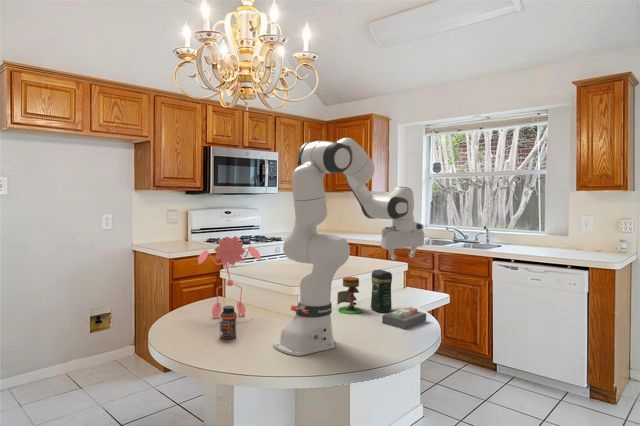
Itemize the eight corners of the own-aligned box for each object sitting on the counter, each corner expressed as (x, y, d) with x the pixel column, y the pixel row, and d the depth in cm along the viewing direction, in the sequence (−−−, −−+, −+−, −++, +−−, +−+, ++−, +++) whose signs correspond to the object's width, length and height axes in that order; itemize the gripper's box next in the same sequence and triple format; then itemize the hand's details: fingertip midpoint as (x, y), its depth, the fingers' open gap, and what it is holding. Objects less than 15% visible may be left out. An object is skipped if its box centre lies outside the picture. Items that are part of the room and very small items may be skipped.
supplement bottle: (220, 340, 154) (220, 309, 154) (219, 335, 160) (219, 305, 159) (237, 339, 156) (237, 308, 155) (235, 333, 162) (236, 304, 161)
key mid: (405, 318, 177) (405, 311, 177) (398, 316, 179) (398, 310, 179) (410, 316, 179) (410, 310, 179) (403, 314, 182) (403, 308, 182)
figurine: (197, 315, 184) (198, 234, 182) (257, 312, 191) (258, 234, 189) (197, 327, 170) (197, 239, 167) (262, 323, 176) (263, 238, 174)
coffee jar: (394, 311, 195) (395, 271, 194) (380, 313, 192) (380, 272, 191) (382, 306, 204) (382, 268, 203) (368, 308, 200) (368, 269, 199)
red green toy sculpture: (368, 309, 198) (369, 277, 198) (355, 316, 188) (356, 282, 187) (346, 305, 205) (347, 274, 204) (332, 311, 194) (333, 278, 194)
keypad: (404, 329, 170) (405, 321, 170) (382, 323, 178) (382, 315, 177) (426, 321, 181) (426, 313, 181) (404, 315, 189) (404, 308, 189)
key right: (412, 315, 180) (412, 309, 180) (405, 314, 183) (405, 308, 183) (416, 314, 183) (417, 308, 183) (409, 312, 185) (410, 306, 185)
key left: (398, 320, 173) (398, 314, 173) (391, 318, 176) (391, 312, 176) (403, 318, 176) (403, 312, 176) (396, 317, 178) (396, 310, 178)
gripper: (387, 227, 171) (386, 261, 173) (426, 225, 181) (426, 257, 182) (378, 226, 177) (377, 259, 178) (417, 223, 186) (416, 255, 187)
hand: (402, 258), depth 180 cm, fingers open, 8 cm apart
